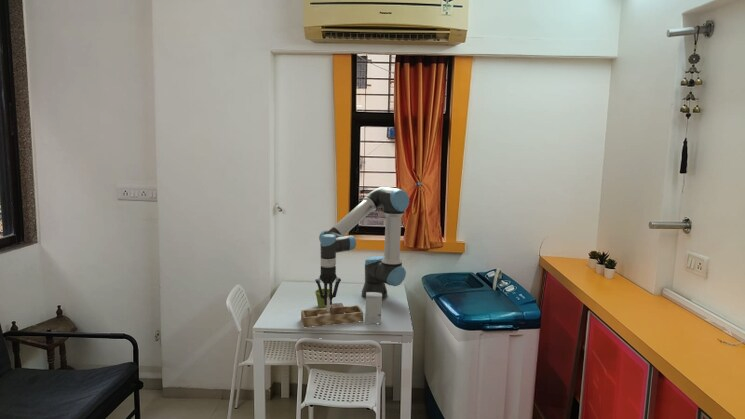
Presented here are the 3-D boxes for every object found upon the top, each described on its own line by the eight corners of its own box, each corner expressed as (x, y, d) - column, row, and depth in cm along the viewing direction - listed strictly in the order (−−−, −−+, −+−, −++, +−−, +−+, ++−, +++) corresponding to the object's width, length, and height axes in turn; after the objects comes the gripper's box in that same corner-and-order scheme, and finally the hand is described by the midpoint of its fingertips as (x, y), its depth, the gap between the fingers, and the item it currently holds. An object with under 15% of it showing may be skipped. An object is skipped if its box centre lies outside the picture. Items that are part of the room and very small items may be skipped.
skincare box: (364, 324, 227) (365, 295, 224) (365, 319, 233) (365, 291, 230) (381, 324, 227) (382, 296, 224) (381, 319, 233) (382, 291, 230)
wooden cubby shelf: (358, 314, 239) (358, 305, 238) (363, 321, 230) (363, 312, 229) (301, 319, 231) (301, 310, 230) (303, 327, 221) (303, 318, 221)
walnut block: (341, 312, 234) (341, 302, 233) (344, 316, 228) (344, 307, 227) (330, 313, 232) (330, 303, 231) (332, 317, 227) (332, 308, 226)
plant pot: (329, 310, 243) (329, 295, 242) (312, 308, 245) (312, 293, 244) (334, 304, 252) (334, 289, 251) (318, 302, 254) (317, 287, 253)
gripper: (316, 268, 219) (316, 314, 223) (342, 266, 223) (342, 312, 227) (313, 264, 226) (314, 309, 230) (339, 262, 230) (339, 306, 234)
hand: (328, 310), depth 229 cm, fingers closed
